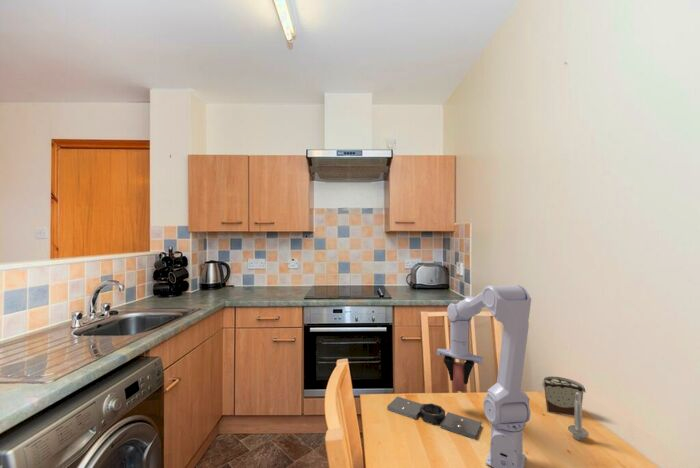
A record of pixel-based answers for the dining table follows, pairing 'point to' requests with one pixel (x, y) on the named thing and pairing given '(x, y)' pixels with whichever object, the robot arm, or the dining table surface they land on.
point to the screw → (578, 420)
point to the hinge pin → (458, 376)
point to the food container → (561, 394)
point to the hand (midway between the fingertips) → (459, 381)
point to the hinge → (436, 416)
